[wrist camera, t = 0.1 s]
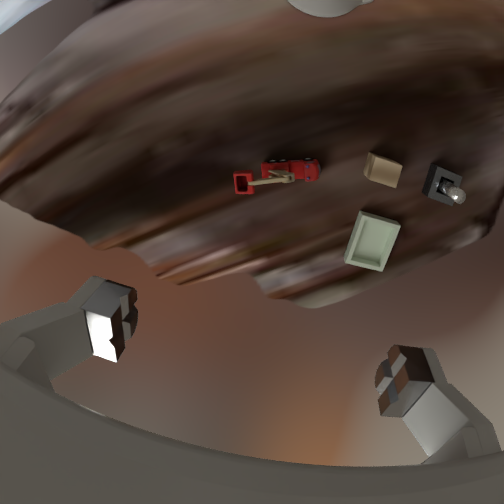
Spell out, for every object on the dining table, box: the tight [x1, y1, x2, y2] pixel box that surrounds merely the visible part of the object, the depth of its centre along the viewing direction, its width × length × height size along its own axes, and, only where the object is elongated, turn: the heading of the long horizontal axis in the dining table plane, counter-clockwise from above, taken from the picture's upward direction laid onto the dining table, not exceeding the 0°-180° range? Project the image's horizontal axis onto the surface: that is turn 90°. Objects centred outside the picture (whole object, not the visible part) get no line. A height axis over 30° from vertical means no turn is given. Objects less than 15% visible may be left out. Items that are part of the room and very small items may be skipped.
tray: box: [344, 211, 401, 271], centre depth 57 cm, size 10×8×2 cm
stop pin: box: [437, 177, 466, 204], centre depth 47 cm, size 2×2×9 cm
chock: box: [363, 152, 402, 188], centre depth 49 cm, size 4×5×5 cm
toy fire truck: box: [234, 158, 321, 194], centre depth 50 cm, size 3×14×10 cm, turn 96°
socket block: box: [422, 163, 462, 206], centre depth 49 cm, size 6×6×3 cm
